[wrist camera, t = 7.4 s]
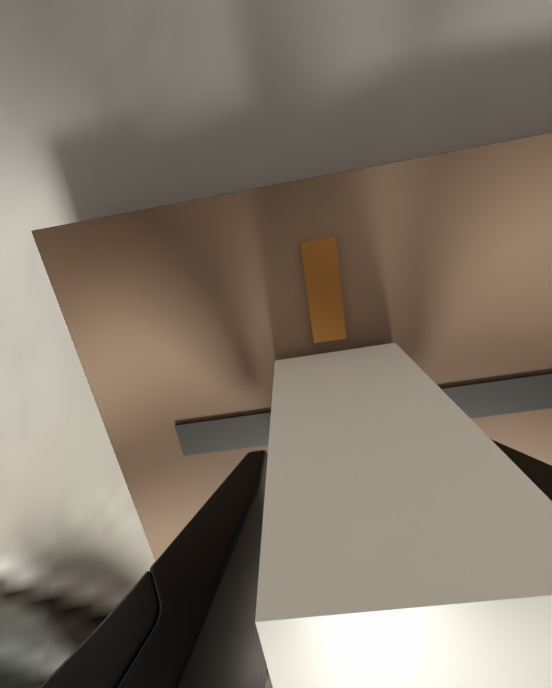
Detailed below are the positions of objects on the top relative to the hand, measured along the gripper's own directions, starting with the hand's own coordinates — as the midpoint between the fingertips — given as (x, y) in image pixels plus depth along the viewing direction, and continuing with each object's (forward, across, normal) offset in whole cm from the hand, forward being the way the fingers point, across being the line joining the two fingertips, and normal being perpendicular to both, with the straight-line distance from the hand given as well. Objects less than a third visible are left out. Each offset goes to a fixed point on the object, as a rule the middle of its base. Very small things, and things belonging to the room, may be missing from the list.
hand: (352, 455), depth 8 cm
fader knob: (+1, 0, 0) cm, 1 cm away
